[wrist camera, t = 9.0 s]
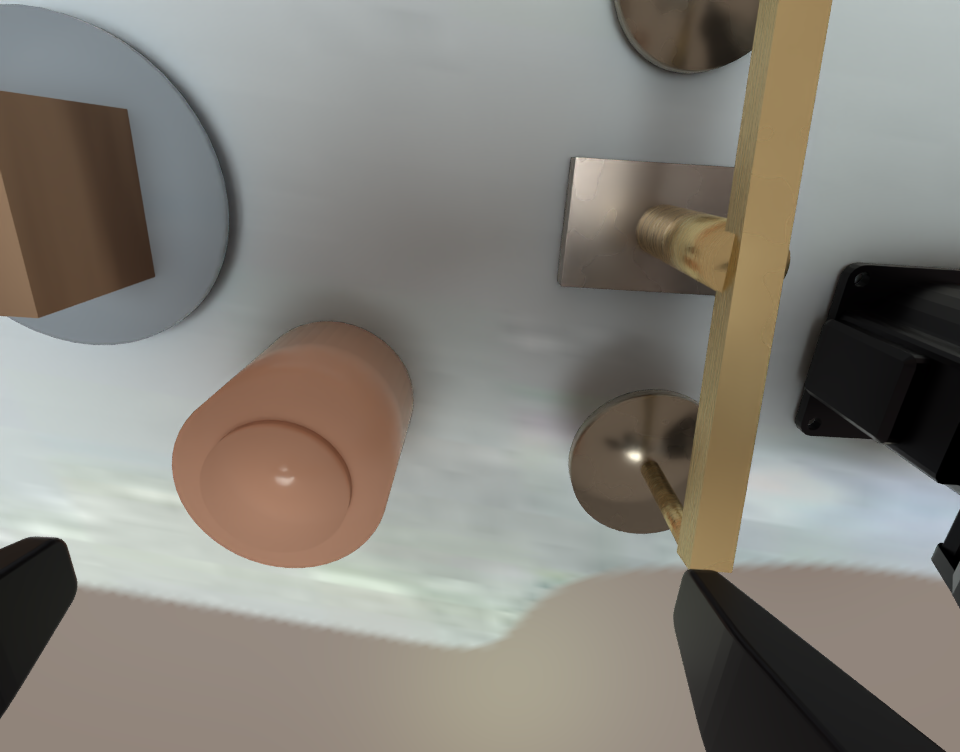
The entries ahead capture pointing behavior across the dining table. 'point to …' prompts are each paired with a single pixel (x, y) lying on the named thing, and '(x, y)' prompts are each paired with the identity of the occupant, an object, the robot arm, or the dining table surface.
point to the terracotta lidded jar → (298, 447)
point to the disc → (160, 163)
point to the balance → (696, 270)
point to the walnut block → (67, 205)
